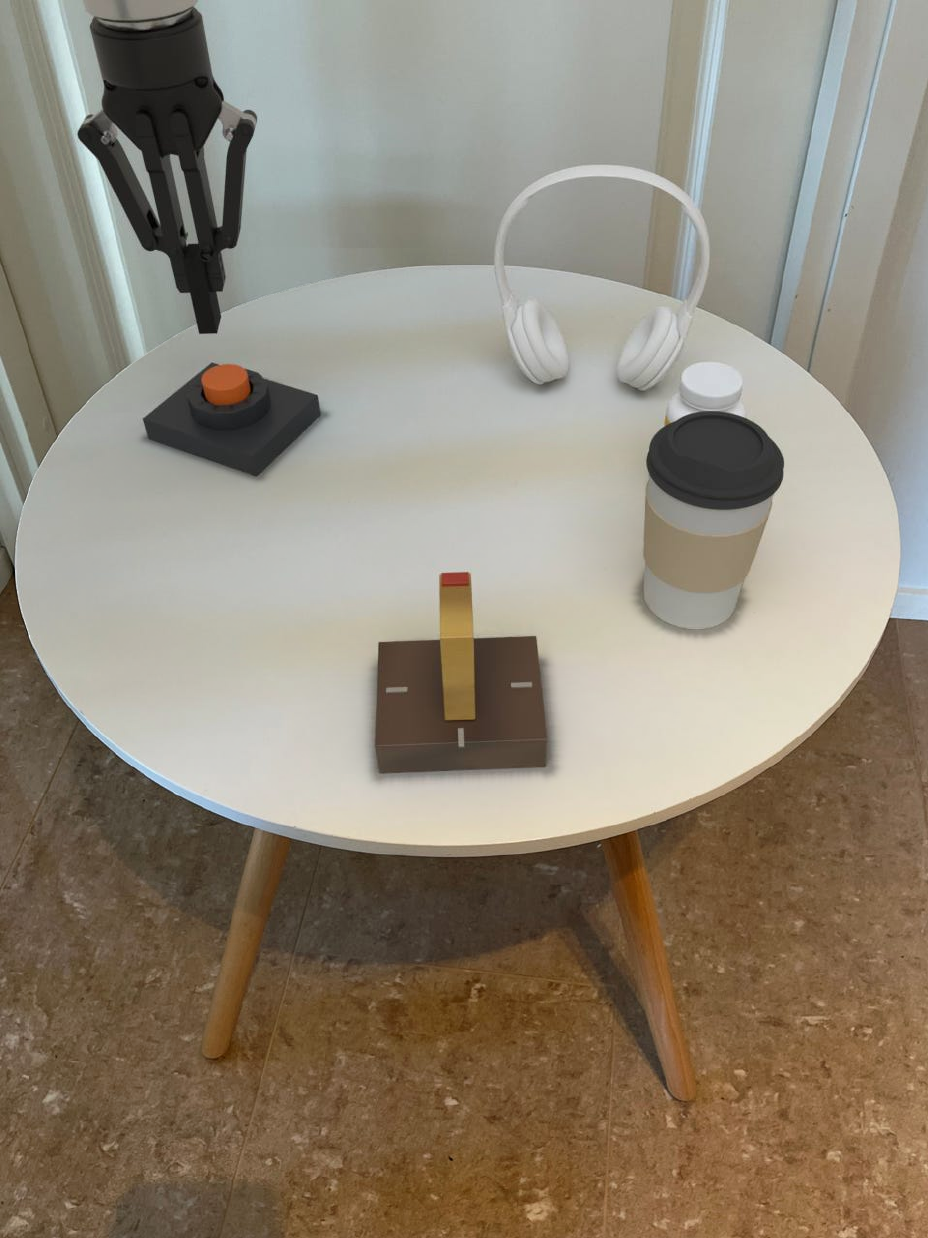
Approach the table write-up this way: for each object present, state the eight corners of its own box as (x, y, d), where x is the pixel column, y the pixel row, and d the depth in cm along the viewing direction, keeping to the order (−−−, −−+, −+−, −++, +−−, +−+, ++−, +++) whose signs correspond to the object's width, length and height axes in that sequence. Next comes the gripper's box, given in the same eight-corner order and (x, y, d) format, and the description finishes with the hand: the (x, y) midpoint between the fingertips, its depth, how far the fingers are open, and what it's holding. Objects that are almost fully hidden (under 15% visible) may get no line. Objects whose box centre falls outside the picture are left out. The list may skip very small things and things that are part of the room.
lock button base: (148, 438, 95) (137, 401, 92) (216, 381, 101) (207, 345, 98) (256, 476, 91) (248, 439, 88) (321, 414, 97) (315, 377, 94)
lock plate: (378, 778, 69) (374, 749, 67) (381, 666, 76) (378, 636, 74) (546, 771, 69) (548, 742, 67) (534, 660, 76) (536, 630, 74)
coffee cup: (658, 541, 84) (682, 381, 73) (767, 580, 81) (810, 419, 70) (609, 612, 79) (627, 451, 68) (723, 657, 76) (762, 496, 65)
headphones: (690, 408, 96) (724, 193, 82) (490, 396, 98) (489, 184, 84) (689, 364, 101) (721, 154, 87) (499, 354, 103) (499, 147, 89)
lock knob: (475, 720, 68) (473, 634, 62) (444, 721, 68) (439, 635, 62) (473, 656, 72) (470, 569, 66) (443, 657, 72) (438, 570, 66)
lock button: (196, 399, 93) (191, 382, 92) (223, 376, 95) (219, 359, 94) (232, 411, 91) (229, 394, 90) (259, 387, 94) (256, 370, 93)
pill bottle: (690, 457, 91) (708, 346, 83) (746, 492, 88) (771, 379, 80) (640, 488, 89) (654, 376, 81) (696, 525, 85) (717, 411, 77)
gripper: (247, -9, 74) (292, 299, 91) (60, -3, 74) (140, 304, 91) (234, 27, 69) (284, 346, 86) (33, 32, 68) (123, 351, 85)
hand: (210, 324), depth 88 cm, fingers closed
